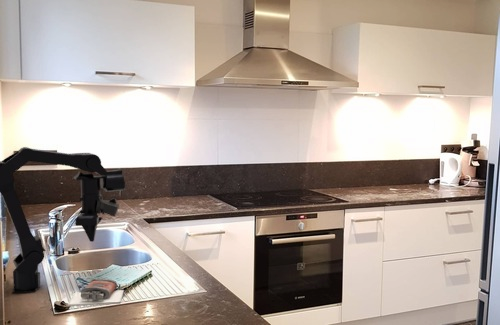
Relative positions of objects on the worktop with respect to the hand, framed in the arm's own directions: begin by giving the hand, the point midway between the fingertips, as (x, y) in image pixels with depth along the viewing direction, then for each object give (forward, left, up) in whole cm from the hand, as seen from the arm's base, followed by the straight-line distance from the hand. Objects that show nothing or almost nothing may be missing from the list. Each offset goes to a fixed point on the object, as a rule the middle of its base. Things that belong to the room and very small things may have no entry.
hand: (92, 241), depth 155 cm
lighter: (+5, -13, -10) cm, 17 cm away
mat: (+4, -18, -12) cm, 22 cm away
